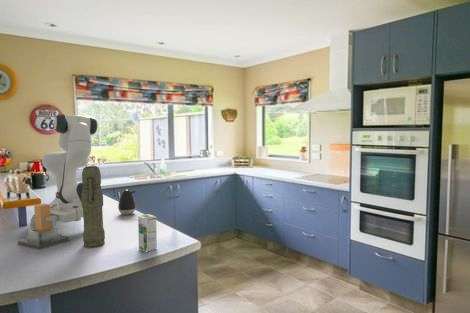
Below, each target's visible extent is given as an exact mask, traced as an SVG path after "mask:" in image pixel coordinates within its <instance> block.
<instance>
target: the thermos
mask: <svg viewBox="0 0 470 313" xmlns="http://www.w3.org/2000/svg"><path fill="white" fill-rule="evenodd" d="M82 168H83V169H82V172H81V182H82V185H83V191H82V194H81V200H82V208H83V218H82V219H83V232H82V241H83V247H84V248H86V249H94V248H100V247H102V246H104V245H105V244H106V243H105V238H106V231H105V229H104V215H103V212H104V211H103V206H104V193H103V190H102V185H101V184H102V178H101V176H102V174H101V170H100V167H99V166H98V165H97V166H96V165H89V166H88V165H86V166H84V167H82Z"/></svg>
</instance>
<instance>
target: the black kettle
mask: <svg viewBox="0 0 470 313" xmlns="http://www.w3.org/2000/svg"><path fill="white" fill-rule="evenodd" d="M134 193H136V190H132V191H131V190H130V189H124V190H122V191H121V193H120V197H119V200H118V205H117V206H118V211H119V213H120V214H121V215H122V216H130V215H132V214H134V212H135V211H136V208H137V206H136V205H137V204H136V200H135V197H134V195H133V194H134ZM129 214H130V215H129Z"/></svg>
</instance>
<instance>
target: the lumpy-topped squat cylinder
mask: <svg viewBox="0 0 470 313" xmlns="http://www.w3.org/2000/svg"><path fill="white" fill-rule="evenodd" d="M55 228H57V227H56V221H51V229H55ZM31 229H35V213H34V214H33V215H32V216H31V218H30V230H31Z"/></svg>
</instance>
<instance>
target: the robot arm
mask: <svg viewBox="0 0 470 313" xmlns="http://www.w3.org/2000/svg"><path fill="white" fill-rule="evenodd" d="M98 124H99V123H98V121H97V119H96V118H95V117H92V116H87V115H80V114H64V113H61V114H56V116H55V118H54V120H53V127H54V128H53V129H54V130H55V132H56V133H58V134H59V138H58V145H59V147H60V148H61V149H62V150H63V151H51V152H47V153H45V154H44V155H43V156H42V159H41V164H42V166H43V167H44V168H45V169H46V170H47V171H49V172H50V173H51V174H52V175H53V176H54V178H55V182H56V189H57V191H56V192H55V193H54V194H55V198H54V199H53V200H52V201H51V202H50V203H49V204H50V214H51V216H50V217H45V218H44V221H46V222H47V221H55V222H59V223H72V222H79V221H81V219H83V208H82V200H81V194H82V191H83V185H82V181H80V182H78V180H77V169H79V168H84V167H86V166H88V163H89V156H91V153H92V152H91V151H92V135H95V134H96V133H97V131H98Z"/></svg>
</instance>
